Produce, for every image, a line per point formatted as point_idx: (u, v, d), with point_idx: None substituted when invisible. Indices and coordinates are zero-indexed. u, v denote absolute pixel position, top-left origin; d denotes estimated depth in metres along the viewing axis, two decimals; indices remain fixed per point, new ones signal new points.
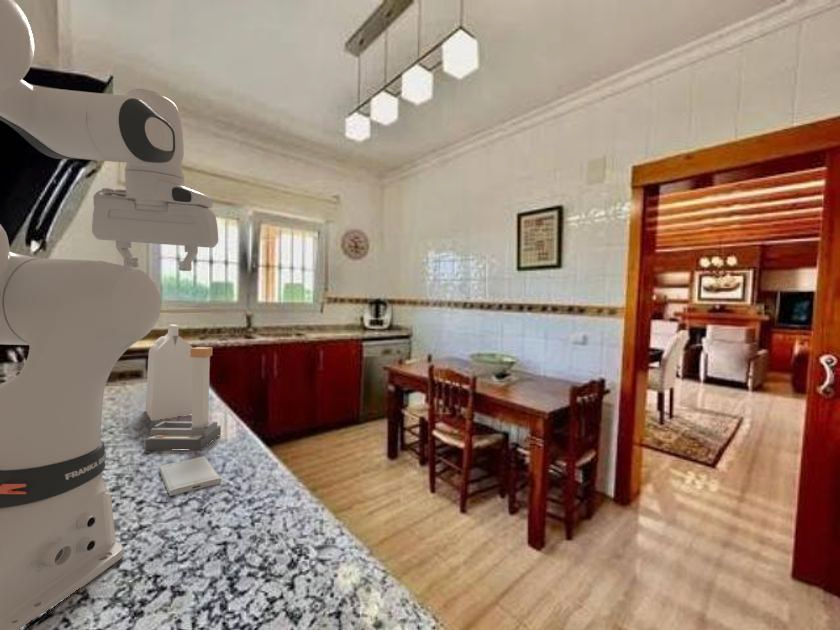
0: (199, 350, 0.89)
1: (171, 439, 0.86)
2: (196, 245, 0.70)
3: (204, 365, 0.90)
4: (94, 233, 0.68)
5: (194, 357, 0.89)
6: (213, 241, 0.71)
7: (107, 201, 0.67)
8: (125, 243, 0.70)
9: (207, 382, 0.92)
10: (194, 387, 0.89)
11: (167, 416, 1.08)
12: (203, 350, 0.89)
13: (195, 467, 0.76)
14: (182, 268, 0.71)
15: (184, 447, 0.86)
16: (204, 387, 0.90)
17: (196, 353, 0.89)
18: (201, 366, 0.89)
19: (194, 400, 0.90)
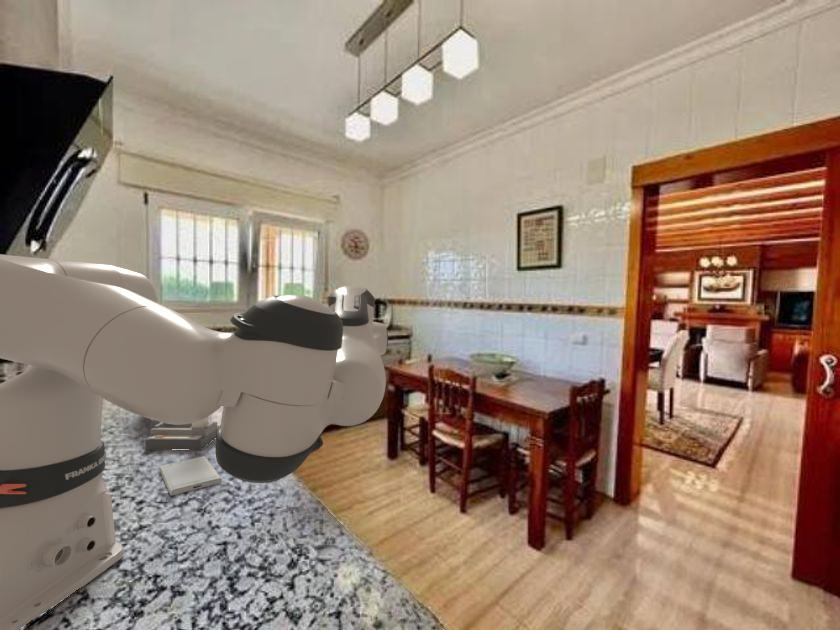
0: None
1: (171, 439, 0.86)
2: None
3: None
4: None
5: None
6: None
7: None
8: None
9: None
10: None
11: None
12: None
13: (196, 466, 0.76)
14: None
15: (184, 447, 0.86)
16: None
17: None
18: None
19: None
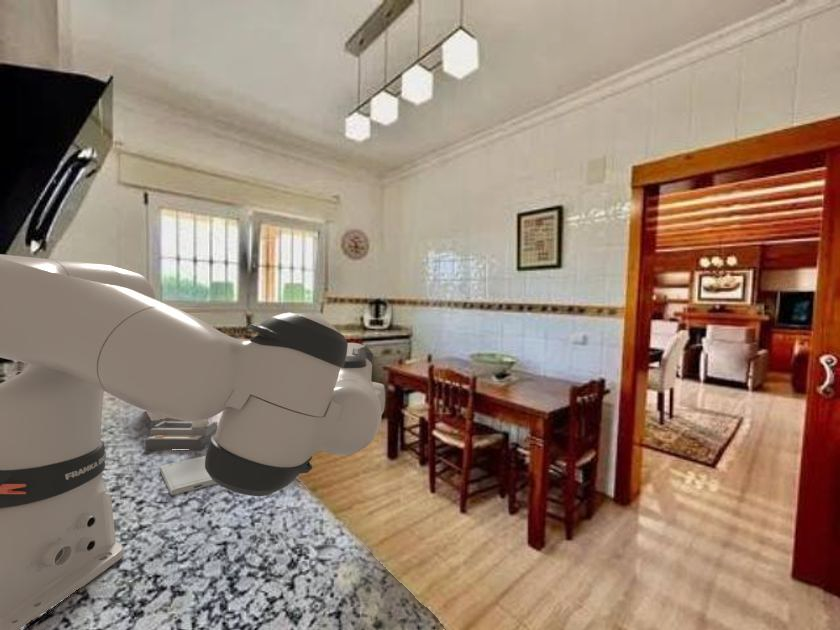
0: None
1: (171, 439, 0.86)
2: None
3: None
4: None
5: None
6: None
7: None
8: None
9: None
10: None
11: None
12: None
13: (196, 466, 0.76)
14: None
15: (184, 447, 0.86)
16: None
17: None
18: None
19: None
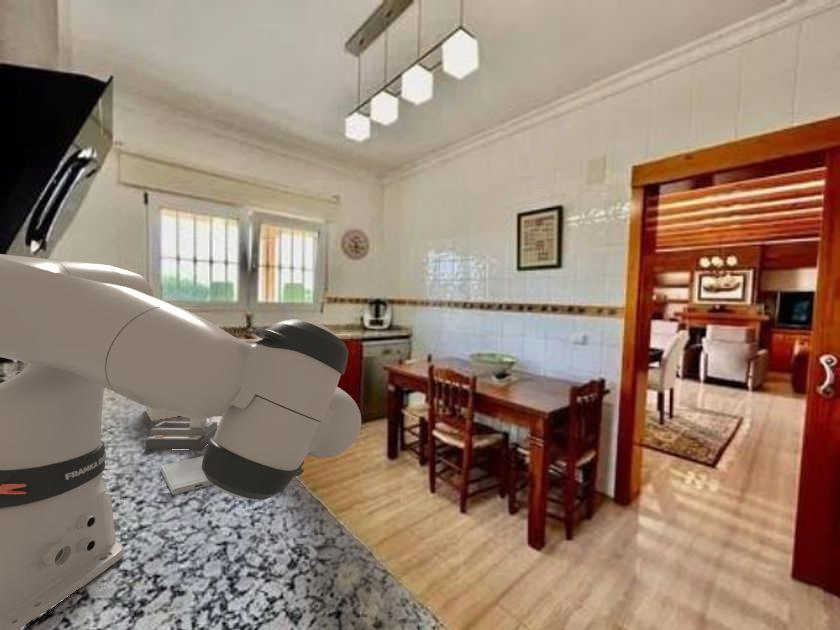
0: None
1: (171, 439, 0.86)
2: None
3: None
4: None
5: None
6: None
7: None
8: None
9: None
10: None
11: (167, 416, 1.08)
12: None
13: (197, 466, 0.76)
14: None
15: (184, 447, 0.86)
16: None
17: None
18: None
19: None
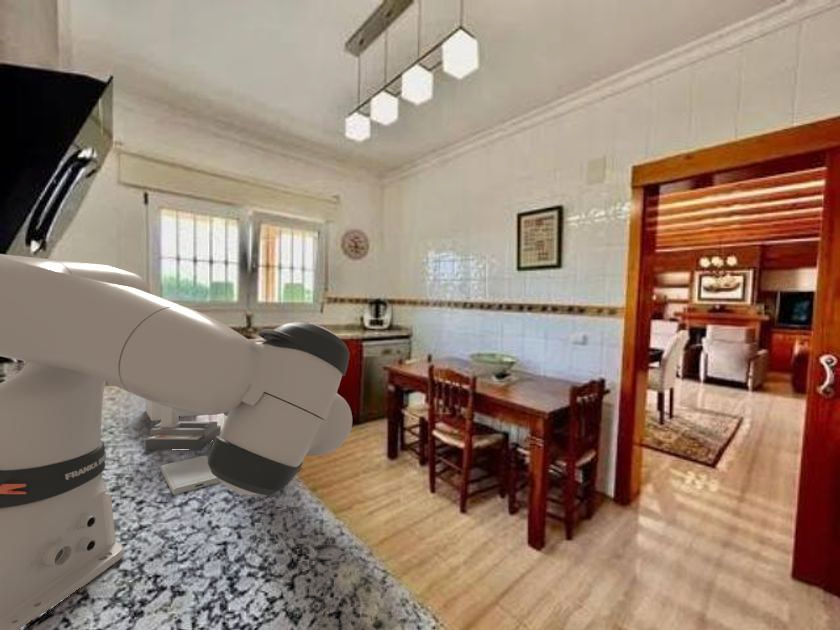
0: None
1: (171, 439, 0.86)
2: None
3: None
4: (178, 415, 0.82)
5: None
6: None
7: None
8: None
9: None
10: None
11: None
12: None
13: (197, 466, 0.76)
14: None
15: (184, 447, 0.86)
16: None
17: None
18: None
19: None
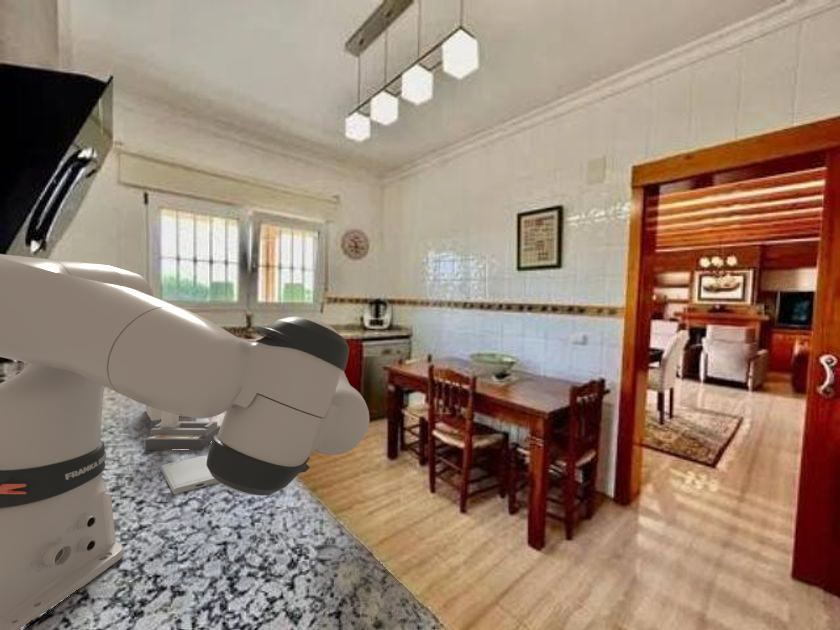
0: None
1: (171, 439, 0.86)
2: None
3: None
4: None
5: None
6: None
7: None
8: None
9: None
10: None
11: None
12: None
13: (197, 465, 0.77)
14: None
15: (184, 447, 0.86)
16: None
17: None
18: None
19: None
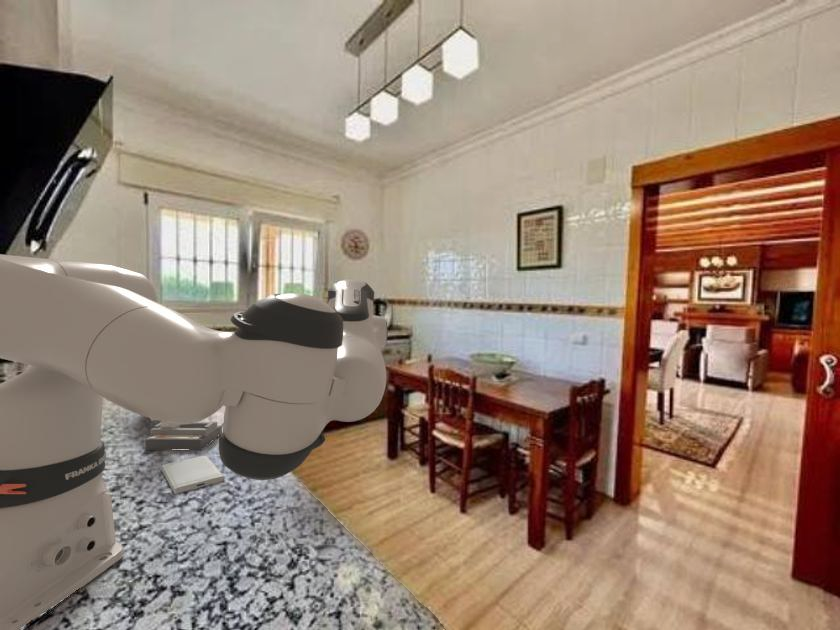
0: None
1: (171, 439, 0.86)
2: None
3: None
4: None
5: None
6: None
7: None
8: None
9: None
10: None
11: None
12: None
13: (198, 465, 0.77)
14: None
15: (184, 447, 0.86)
16: None
17: None
18: None
19: None
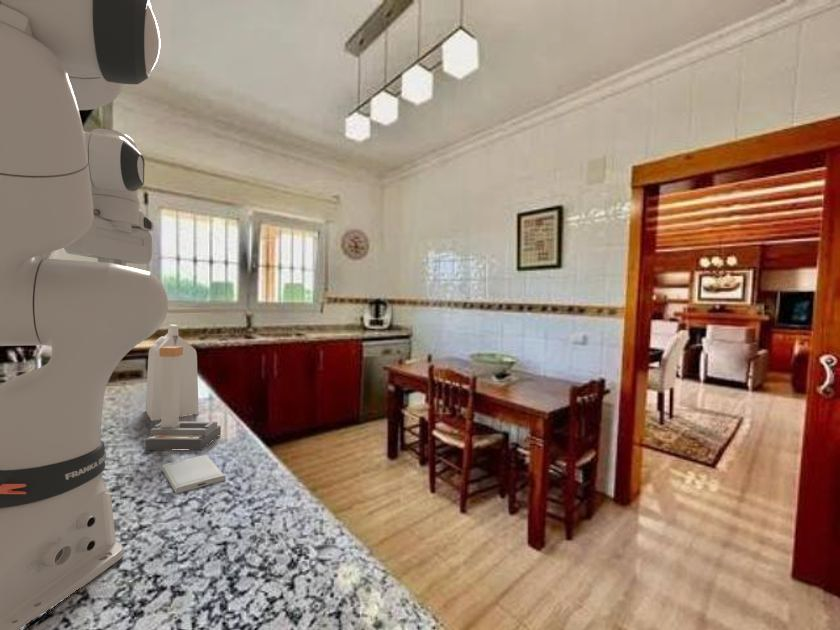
0: (168, 349, 0.89)
1: (171, 439, 0.86)
2: (143, 262, 0.87)
3: (173, 364, 0.89)
4: (85, 248, 0.70)
5: (163, 356, 0.89)
6: None
7: (95, 219, 0.72)
8: None
9: (177, 381, 0.91)
10: (163, 386, 0.89)
11: None
12: (172, 349, 0.89)
13: (198, 465, 0.77)
14: None
15: (184, 447, 0.86)
16: (174, 386, 0.90)
17: (165, 352, 0.89)
18: (170, 365, 0.89)
19: (164, 400, 0.89)
